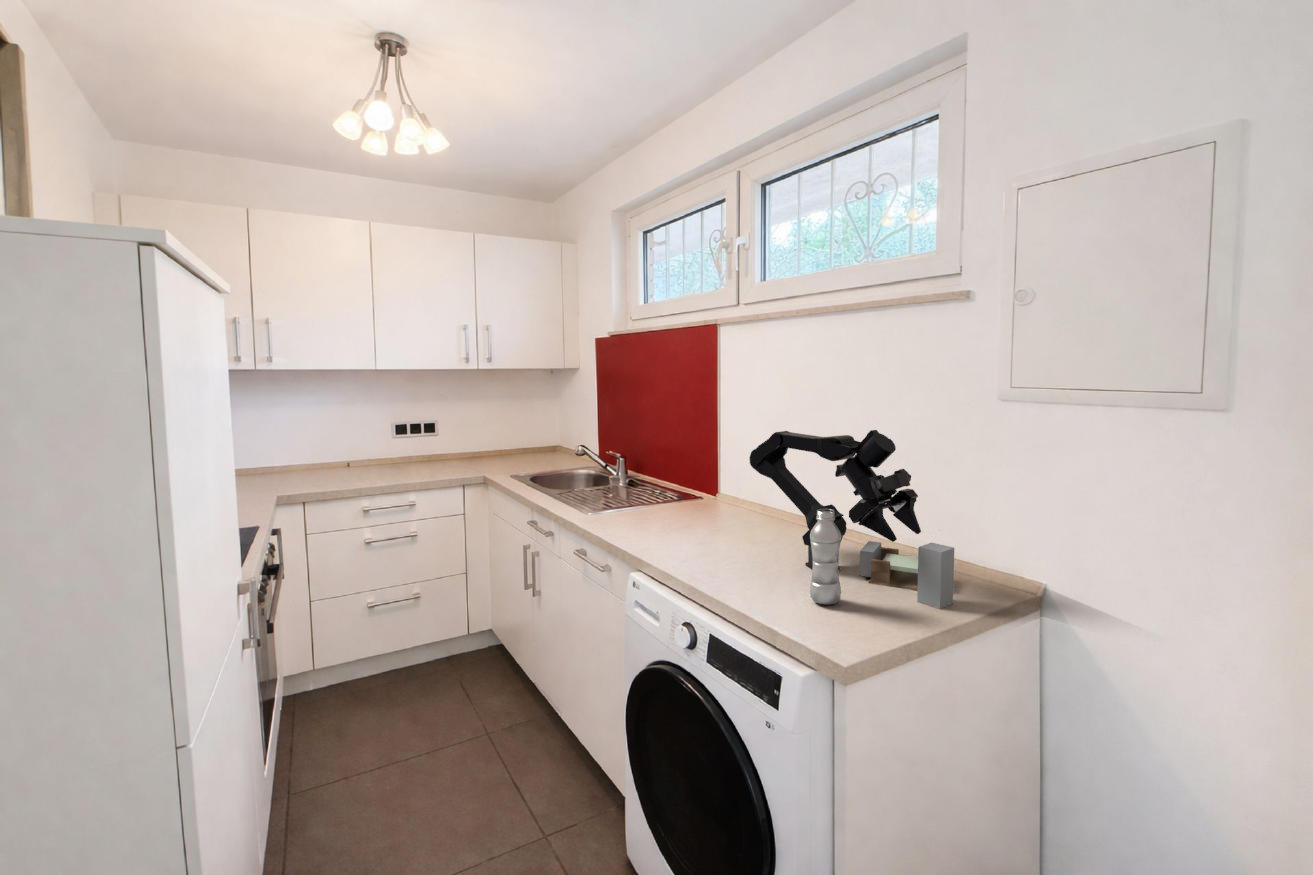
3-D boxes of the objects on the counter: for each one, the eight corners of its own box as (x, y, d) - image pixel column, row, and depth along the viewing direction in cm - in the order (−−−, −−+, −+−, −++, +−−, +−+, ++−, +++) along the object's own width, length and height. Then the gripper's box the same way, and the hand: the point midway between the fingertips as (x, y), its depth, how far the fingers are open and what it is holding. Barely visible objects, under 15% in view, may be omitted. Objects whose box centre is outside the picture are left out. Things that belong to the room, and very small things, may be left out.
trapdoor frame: (868, 582, 141) (868, 559, 141) (879, 568, 151) (879, 546, 151) (942, 594, 133) (942, 569, 133) (948, 578, 143) (948, 555, 143)
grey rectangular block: (917, 601, 129) (918, 546, 128) (930, 596, 132) (931, 542, 131) (939, 609, 125) (941, 552, 124) (952, 603, 128) (954, 547, 127)
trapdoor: (859, 575, 144) (860, 550, 143) (868, 564, 151) (868, 541, 151) (933, 586, 135) (933, 560, 135) (938, 574, 143) (938, 549, 142)
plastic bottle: (846, 601, 131) (847, 509, 128) (832, 611, 126) (832, 516, 123) (818, 594, 135) (819, 505, 133) (803, 603, 130) (804, 511, 128)
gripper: (860, 462, 130) (907, 523, 122) (910, 453, 141) (956, 508, 133) (830, 493, 137) (872, 552, 129) (880, 483, 148) (921, 536, 140)
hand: (907, 536), depth 133 cm, fingers open, 9 cm apart
